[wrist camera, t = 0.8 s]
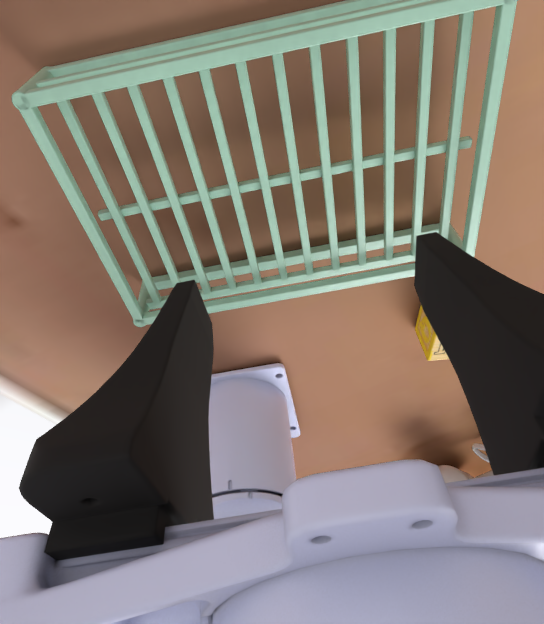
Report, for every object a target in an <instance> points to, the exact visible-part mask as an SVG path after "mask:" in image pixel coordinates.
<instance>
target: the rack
mask: <svg viewBox="0 0 544 624" xmlns="http://www.w3.org/2000/svg"><path fill="white" fill-rule="evenodd" d="M517 1H518V0H346V1H341V2H337V3H332V4H328V5H323V6H319V7H315V8H310V9H306V10H301V11H297V12H292V13H288V14H283V15H279V16H274V17H270V18H266V19H261V20H257V21H252V22H248V23H243V24H239V25H234V26H230V27H225V28H221V29H217V30H212V31H208V32H203V33H199V34H194V35H190V36H185V37H181V38H176V39H172V40H168V41H163V42H159V43H154V44H150V45H145V46H141V47H136V48H132V49H128V50H123V51H119V52H114V53H110V54H105V55H101V56H96V57H92V58H87V59H83V60H79V61H74V62H70V63H65V64H61V65H56V66H52V67H48V66H46V67H43V68H42V69H41V70H40V71H39V72H37V73H36V74H35V75H34V76H33V77H32V78H31V79H29V80H28V81H27V82H26V83H25V84H24V85H23V86H21V87H20V88H19V89H18V90H17V91H16V92H14V93H13V95H12V103H13V105H14V106H15V107H16V108H17V109H18V110H19V111H20V113H21V114H22V116H23V118H24V120H25V122H26V124H27V125H28V127H29V129H30V131H31V133H32V135H33V136H34V138H35V140H36V142H37V144H38V146H39V147H40V149H41V151H42V153H43V155H44V157H45V158H46V160H47V162H48V164H49V166H50V168H51V169H52V171H53V173H54V175H55V177H56V179H57V180H58V182H59V184H60V186H61V188H62V190H63V191H64V193H65V195H66V197H67V199H68V201H69V202H70V204H71V206H72V208H73V210H74V212H75V213H76V215H77V217H78V219H79V221H80V223H81V224H82V226H83V228H84V230H85V232H86V233H87V235H88V237H89V239H90V241H91V243H92V244H93V246H94V248H95V250H96V252H97V254H98V255H99V257H100V259H101V261H102V263H103V265H104V266H105V268H106V270H107V272H108V274H109V276H110V277H111V279H112V281H113V283H114V285H115V287H116V288H117V290H118V292H119V294H120V296H121V298H122V299H123V301H124V303H125V305H126V307H127V309H128V310H129V312H130V314H131V316H132V318H133V323H134V325H135V326H137V327H144V326H145V325H148V324H152V323H153V322H154V320H155V318H156V317H157V315H158V314H159V312H160V310H157V311H151V312H149V310H151V309H157V308H162V307H163V305H164V304H165V302H166V300H167V298H168V297H169V295H168V296H162V297H161V296H160V294H159V292H158V290H161V289H167V288H172V287H174V286H175V285H176V283H180V282H185V281H190V280H195V282H196V283H199V282H200V285H201V287H202V289H200V290H199V292H200V294H201V297H202V299H203V300H206V299H211V298H217V297H222V296H228V295H233V294H238V293H244V292H249V291H255V290H260V289H266V288H271V287H276V286H282V285H287V284H293V283H298V282H304V281H309V280H314V279H320V278H325V277H331V276H336V275H342V274H347V273H352V272H358V271H363V270H369V269H374V268H380V267H385V266H390V265H396V264H401V263H407V262H412V261H415V257H416V236H418V235H423V234H428V233H433V232H437V233H438V234H440V235H441V236H443V237H444V238H446V239H447V240H449V241H450V242H452V243H453V244H455V245H456V246H458V247H459V248H461V249H462V250H464V251H465V252H467V253H468V254H470V255H471V256H473V257H474V254H475V248H476V243H477V237H478V231H479V225H480V219H481V213H482V207H483V201H484V195H485V189H486V183H487V177H488V171H489V165H490V159H491V153H492V147H493V141H494V135H495V129H496V123H497V117H498V111H499V105H500V99H501V93H502V87H503V81H504V75H505V69H506V63H507V58H508V52H509V46H510V40H511V34H512V28H513V22H514V16H515V10H516V4H517ZM495 6H496V12H495V19H494V26H493V33H492V40H491V47H490V54H489V61H488V68H487V75H486V82H485V89H484V96H483V103H482V110H481V117H480V124H479V131H478V138H477V145H476V152H475V159H474V166H473V174H472V181H471V188H470V195H469V202H468V209H467V216H466V223H465V230H464V237H463V241H462V239H461V238H460V237H459V235H458V234H457V232H456V231H455V229H454V228H453V227H452V225H451V224H450V217H451V208H452V200H453V191H454V182H455V173H456V165H457V156H458V150H460V149H465V148H470V147H471V145H472V138H471V137H470V136H466V137H461V138H460V129H461V121H462V112H463V103H464V94H465V86H466V77H467V68H468V59H469V51H470V42H471V33H472V24H473V15H474V11H476V10H481V9H485V8H490V7H495ZM458 14H459V23H458V33H457V44H456V54H455V65H454V75H453V86H452V96H451V107H450V117H449V128H448V138H447V140H446V141H441V142H436V143H431V144H427V134H428V119H429V103H430V87H431V72H432V56H433V40H434V25H435V19H440V18H444V17H449V16H453V15H458ZM417 23H421V33H420V54H419V76H418V98H417V120H416V141H415V147H411V148H406V149H401V150H396V151H394V149H395V74H396V28H399V27H403V26H408V25H412V24H417ZM380 31H383V151H384V153H381V154H376V155H371V156H366V157H362V133H361V107H360V81H359V54H358V36H362V35H367V34H371V33H376V32H380ZM344 39H346V58H347V76H348V94H349V113H350V131H351V149H352V159H351V160H346V161H341V162H336V163H331V162H330V151H329V140H328V129H327V118H326V106H325V95H324V84H323V73H322V62H321V51H320V45H321V44H326V43H330V42H335V41H339V40H344ZM307 47H308V49H309V58H310V67H311V77H312V86H313V96H314V105H315V115H316V124H317V134H318V143H319V153H320V162H321V166H316V167H311V168H306V169H302V170H299V165H298V158H297V151H296V144H295V137H294V130H293V123H292V116H291V109H290V102H289V95H288V88H287V81H286V74H285V67H284V60H283V53H284V52H289V51H294V50H298V49H303V48H307ZM271 55H272V61H273V67H274V73H275V80H276V86H277V92H278V99H279V105H280V112H281V118H282V124H283V131H284V137H285V143H286V150H287V156H288V162H289V169H290V172H287V173H282V174H277V175H272V176H268V173H267V168H266V163H265V158H264V153H263V147H262V142H261V137H260V132H259V127H258V122H257V117H256V111H255V106H254V101H253V96H252V91H251V86H250V81H249V75H248V70H247V65H246V61H248V60H252V59H257V58H262V57H266V56H271ZM234 63H235V66H236V70H237V75H238V80H239V85H240V89H241V94H242V99H243V104H244V108H245V113H246V118H247V123H248V128H249V132H250V137H251V142H252V147H253V151H254V156H255V161H256V166H257V170H258V175H259V178H257V179H252V180H247V181H242V182H237V177H236V173H235V169H234V165H233V161H232V157H231V153H230V149H229V145H228V141H227V137H226V133H225V129H224V125H223V121H222V117H221V113H220V109H219V105H218V101H217V97H216V93H215V89H214V84H213V80H212V76H211V72H210V69H211V68H216V67H220V66H225V65H230V64H234ZM198 71H199V75H200V79H201V83H202V86H203V90H204V94H205V98H206V102H207V105H208V109H209V113H210V117H211V121H212V124H213V128H214V132H215V136H216V139H217V143H218V147H219V151H220V155H221V158H222V162H223V166H224V170H225V174H226V177H227V181H228V184H227V185H222V186H217V187H212V188H207V185H206V181H205V178H204V175H203V171H202V168H201V165H200V162H199V158H198V155H197V152H196V148H195V145H194V142H193V138H192V135H191V132H190V128H189V125H188V122H187V118H186V115H185V112H184V108H183V105H182V102H181V98H180V95H179V92H178V88H177V85H176V82H175V78H174V77H175V76H179V75H184V74H188V73H193V72H198ZM161 79H163V83H164V86H165V89H166V92H167V95H168V98H169V101H170V105H171V108H172V111H173V114H174V117H175V120H176V123H177V127H178V130H179V133H180V136H181V139H182V142H183V145H184V149H185V152H186V155H187V158H188V161H189V164H190V167H191V171H192V174H193V177H194V180H195V183H196V186H197V189H198V190H197V191H192V192H187V193H182V194H177V191H176V188H175V185H174V182H173V180H172V177H171V174H170V171H169V168H168V166H167V163H166V160H165V157H164V154H163V151H162V149H161V146H160V143H159V140H158V137H157V135H156V132H155V129H154V126H153V123H152V120H151V118H150V115H149V112H148V109H147V106H146V103H145V101H144V98H143V95H142V92H141V89H140V87H139V84H143V83H147V82H152V81H156V80H161ZM124 87H127V89H128V92H129V95H130V97H131V100H132V103H133V105H134V108H135V111H136V113H137V116H138V119H139V121H140V124H141V127H142V129H143V132H144V135H145V137H146V140H147V143H148V145H149V148H150V151H151V153H152V156H153V159H154V162H155V164H156V167H157V170H158V172H159V175H160V178H161V180H162V183H163V186H164V188H165V191H166V194H167V197H162V198H157V199H152V200H148V199H147V196H146V194H145V191H144V189H143V187H142V184H141V182H140V179H139V177H138V174H137V172H136V169H135V167H134V165H133V162H132V160H131V157H130V155H129V152H128V150H127V147H126V145H125V143H124V140H123V138H122V135H121V133H120V130H119V128H118V125H117V123H116V121H115V118H114V116H113V113H112V111H111V108H110V106H109V103H108V101H107V99H106V96H105V94H104V92H106V91H111V90H115V89H120V88H124ZM88 95H92V97H93V100H94V102H95V104H96V107H97V109H98V111H99V114H100V116H101V118H102V121H103V123H104V125H105V128H106V130H107V132H108V135H109V137H110V139H111V142H112V144H113V146H114V149H115V151H116V153H117V156H118V158H119V160H120V163H121V165H122V167H123V170H124V172H125V174H126V177H127V179H128V181H129V184H130V186H131V188H132V191H133V193H134V195H135V198H136V200H137V203H132V204H127V205H122V206H118V203H117V201H116V199H115V197H114V195H113V193H112V190H111V188H110V186H109V184H108V182H107V180H106V178H105V175H104V173H103V171H102V169H101V167H100V165H99V162H98V160H97V158H96V156H95V154H94V152H93V150H92V147H91V145H90V143H89V141H88V139H87V137H86V134H85V132H84V130H83V128H82V126H81V124H80V122H79V119H78V117H77V115H76V113H75V111H74V109H73V106H72V104H71V102H70V99H74V98H79V97H83V96H88ZM51 103H57V105H58V107H59V109H60V111H61V113H62V115H63V117H64V119H65V121H66V123H67V125H68V127H69V129H70V131H71V133H72V136H73V138H74V140H75V142H76V144H77V146H78V148H79V150H80V152H81V154H82V156H83V158H84V160H85V162H86V164H87V166H88V169H89V171H90V173H91V175H92V177H93V179H94V181H95V183H96V185H97V187H98V189H99V191H100V193H101V195H102V197H103V199H104V202H105V204H106V206H107V209H102V210H99V212H98V216H99V218H100V220H101V221H103V220H108V219H113V220H114V222H115V224H116V226H117V228H118V230H119V232H120V235H121V237H122V239H123V241H124V243H125V245H126V247H127V249H128V251H129V253H130V255H131V257H132V259H133V261H134V263H135V265H136V268H137V270H138V272H139V274H140V276H141V278H142V280H143V281H142V285H141V289H140V293H139V298H138V301H137V299H136V297H135V295H134V293H133V291H132V289H131V287H130V285H129V284H128V282H127V280H126V278H125V276H124V274H123V272H122V270H121V268H120V266H119V264H118V262H117V260H116V258H115V256H114V254H113V253H112V251H111V249H110V247H109V245H108V243H107V241H106V239H105V237H104V235H103V233H102V231H101V229H100V227H99V225H98V224H97V222H96V220H95V218H94V216H93V214H92V212H91V210H90V208H89V206H88V204H87V202H86V200H85V198H84V196H83V194H82V193H81V191H80V189H79V187H78V185H77V183H76V181H75V179H74V177H73V175H72V173H71V171H70V169H69V167H68V165H67V164H66V162H65V160H64V158H63V156H62V154H61V152H60V150H59V148H58V146H57V144H56V142H55V140H54V138H53V136H52V134H51V133H50V131H49V129H48V127H47V125H46V123H45V121H44V119H43V117H42V115H41V113H40V111H39V109H38V106H42V105H47V104H51ZM445 152H446V159H445V170H444V180H443V191H442V201H441V212H440V222H439V223H437V224H431V225H426V226H422V212H423V197H424V181H425V165H426V156H430V155H435V154H440V153H445ZM410 159H415V163H414V185H413V207H412V228H410V229H405V230H400V231H394V232H393V224H394V162H400V161H405V160H410ZM379 165H384V234H378V235H373V236H368V237H365V213H364V186H363V169H364V168H369V167H374V166H379ZM349 171H353V186H354V204H355V223H356V239H352V240H347V241H341V242H338V240H337V229H336V218H335V207H334V196H333V185H332V175H334V174H339V173H344V172H349ZM319 177H322V181H323V190H324V200H325V209H326V219H327V228H328V238H329V244H326V245H320V246H315V247H310V243H309V236H308V229H307V222H306V215H305V208H304V201H303V194H302V187H301V181H304V180H309V179H314V178H319ZM289 183H292V188H293V194H294V200H295V207H296V213H297V220H298V226H299V232H300V239H301V245H302V249H299V250H294V251H289V252H283V250H282V245H281V240H280V235H279V230H278V224H277V219H276V214H275V209H274V204H273V199H272V194H271V189H270V187H274V186H279V185H284V184H289ZM259 189H262V194H263V199H264V204H265V208H266V213H267V218H268V223H269V227H270V232H271V237H272V242H273V246H274V251H275V254H273V255H267V256H262V257H257V258H256V254H255V250H254V246H253V242H252V238H251V234H250V230H249V226H248V222H247V218H246V214H245V210H244V206H243V202H242V198H241V194H240V193H244V192H249V191H254V190H259ZM229 195H231V196H232V200H233V204H234V208H235V211H236V215H237V219H238V223H239V227H240V230H241V234H242V238H243V242H244V246H245V249H246V253H247V257H248V259H246V260H241V261H236V262H230V261H229V258H228V255H227V251H226V248H225V245H224V241H223V238H222V235H221V231H220V228H219V225H218V221H217V218H216V215H215V211H214V208H213V205H212V201H211V199H214V198H219V197H224V196H229ZM199 201H201V202H202V205H203V208H204V211H205V215H206V218H207V221H208V224H209V227H210V230H211V233H212V237H213V240H214V243H215V246H216V249H217V252H218V255H219V259H220V262H221V264H220V265H214V266H209V267H203V264H202V261H201V259H200V256H199V253H198V250H197V247H196V245H195V242H194V239H193V236H192V233H191V230H190V228H189V225H188V222H187V219H186V216H185V214H184V211H183V208H182V205H184V204H189V203H194V202H199ZM169 207H172V210H173V212H174V215H175V218H176V220H177V223H178V226H179V229H180V231H181V234H182V237H183V239H184V242H185V245H186V247H187V250H188V253H189V255H190V258H191V261H192V263H193V266H194V269H193V270H188V271H183V272H177V270H176V267H175V265H174V262H173V260H172V257H171V255H170V253H169V250H168V248H167V245H166V243H165V240H164V238H163V235H162V233H161V231H160V228H159V226H158V223H157V221H156V218H155V216H154V213H153V210H158V209H164V208H169ZM138 213H142V214H143V216H144V219H145V221H146V223H147V226H148V228H149V230H150V233H151V235H152V237H153V240H154V242H155V244H156V247H157V249H158V251H159V254H160V256H161V258H162V261H163V263H164V265H165V268H166V270H167V272H168V274H167V275H162V276H156V277H151V275H150V272H149V270H148V268H147V266H146V264H145V262H144V259H143V257H142V255H141V253H140V251H139V249H138V247H137V244H136V242H135V240H134V238H133V236H132V234H131V231H130V229H129V227H128V225H127V223H126V221H125V218H124V216H128V215H133V214H138ZM408 243H411V250H410V251H404V252H399V253H394V254H393V246H397V245H402V244H408ZM381 248H384V255H383V256H377V257H372V258H367V259H366V251H370V250H375V249H381ZM354 253H357V259H358V260H356V261H351V262H345V263H339V256H343V255H349V254H354ZM327 258H331V265H329V266H324V267H318V268H313V264H312V261H317V260H322V259H327ZM301 263H304V264H305V270H302V271H297V272H291V273H287V271H286V266H290V265H295V264H301ZM274 268H278V270H279V275H275V276H270V277H264V278H261V274H260V271H263V270H268V269H274ZM247 273H252V276H253V280H248V281H243V282H237V283H236V281H235V278H234V276H236V275H242V274H247ZM412 276H415V263H412V264H407V265H402V266H396V267H391V268H385V269H380V270H374V271H369V272H364V273H358V274H353V275H347V276H342V277H336V278H331V279H325V280H320V281H315V282H309V283H304V284H298V285H293V286H287V287H282V288H276V289H271V290H266V291H260V292H255V293H249V294H244V295H238V296H233V297H228V298H222V299H217V300H211V301H206V302H204V305H205V307H206V310H207V312H208V314H209V313H214V312H220V311H225V310H231V309H236V308H242V307H247V306H253V305H258V304H264V303H269V302H275V301H280V300H286V299H291V298H297V297H302V296H308V295H313V294H319V293H324V292H330V291H335V290H341V289H346V288H352V287H357V286H363V285H368V284H374V283H379V282H385V281H390V280H396V279H401V278H407V277H412ZM220 278H226V281H227V285H221V286H216V287H210V284H209V281H210V280H215V279H220Z"/></svg>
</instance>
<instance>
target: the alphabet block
mask: <svg viewBox="0 0 544 624" xmlns="http://www.w3.org/2000/svg"><path fill="white" fill-rule="evenodd" d="M415 331H416V334H417V336H418V339H419V341H420V344H421V346H422V349H423V351H424V353H425V356H426V358H427V360H429V361H431V360H443V359H449V358H448V356H447V354H446V352H445V350H444V348H443V346H442V345H441V343H440V341H439V339H438V337H437V335H436V334H435V332H434V330H433V328H432V326H431V324H430V322H429V320H428V319H427V317H426V315H425V313H424V311H423V308H422V305H421V306H420V310H419V314H418V318H417V322H416V326H415Z"/></svg>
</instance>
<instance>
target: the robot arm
mask: <svg viewBox="0 0 544 624" xmlns="http://www.w3.org/2000/svg"><path fill="white" fill-rule="evenodd" d="M414 286H415V289H416V292H417V295H418V297H419V300H420V303H421V305H422V308H423V311H424V313H425V315H426V317H427V319H428V320H429V322H430V324H431V326H432V328H433V330H434V332H435V334H436V335H437V337H438V339H439V341H440V343H441V345H442V346H443V348H444V350H445V352H446V354H447V356H448V358H449V359H450V361H451V363H452V365H453V367H454V369H455V371H456V373H457V375H458V378H459V380H460V383H461V385H462V388H463V390H464V393H465V395H466V398H467V400H468V403H469V406H470V408H471V411H472V414H473V416H474V419H475V422H476V424H477V427H478V430H479V433H480V436H481V439H482V441H483V444H484V447H485V450H486V453H487V456H488V459H489V462H490V465H491V468H492V471H493V474H494V476H488V477H481V478H475V479H469V480H462V481H456V482H449V483H445V482H444V479H443V476H442V474H441V472H440V469H439V467H438V466H437V465H435V464H432V463H430V462H427V461H424V460H421V459H413V460H398V461H392V462H386V463H379V464H373V465H367V466H361V467H355V468H348V469H342V470H336V471H330V472H324V473H317V474H313V475H309V476H306V477H303V478H299V479H297V480H296V473H295V465H294V456H293V448H292V440H291V438H295V437H298V436H299V435H300V428H299V424H298V420H297V416H296V412H295V408H294V404H293V400H292V396H291V391H290V387H289V383H288V379H287V375H286V371H285V367H284V365H283V364H281V363H275V364H269V365H263V366H257V367H252V368H246V369H240V370H234V371H228V372H223V373H217V374H212V364H213V331H212V322H211V320H210V317H209V315H208V312H207V310H206V307H205V305H204V302H203V299H202V297H201V294H200V292H199V289H198V287H197V284H196V282H195V280H190V281H185V282H180V283H176V285H175V286H174V288H173V290H172V291H171V293H170V295H169V297H168V298H167V300H166V302H165V304H164V305H163V307H162V309H161V310H160V312H159V314H158V315H157V317H156V318H155V320H154V322H153V323H152V325H151V326H150V328H149V330H148V331H147V333H146V334H145V335H144V337H143V338H142V340H141V341H140V343H139V344H138V345H137V347H136V348H135V350H134V351H133V352H132V353H131V355H130V356H129V357H128V358H127V360H126V361H125V362H124V363H123V364H122V365H121V367H120V368H119V369H118V370H117V371H116V372H115V373H114V374H113V375H112V376H111V377H110V378H109V379H108V380H107V381H106V382H105V383H104V384H103V385H102V386H101V388H100V389H99V390H98V391H97V392H96V393H94V394H93V395H92V396H91V397H90V398H89V399H88V400H87V401H86V402H84V403H83V404H82V405H81V406H80V407H79V408H77V409H76V410H75V411H74V412H73V413H71V414H70V415H69V416H68V417H66V418H65V419H64V420H63V421H61V422H60V423H58V424H57V425H56V426H54V427H53V428H52V429H50V430H49V431H48V432H46V433H45V434H44V435H42V436H41V437H39V438H38V439H37V440H36V442H35V444H34V447H33V449H32V452H31V454H30V457H29V460H28V463H27V466H26V468H25V471H24V474H23V477H22V480H21V483H20V487H19V489H20V492H21V495H22V496H23V498H24V499H26V501H27V502H28V503H29V504H30V505H32V506H33V507H35V508H36V509H37V510H38V511H40V512H41V513H42V514H43V515H45V516H46V517H47V518H49V519H50V520H51V521H52V522H53V523H52V526H51V530H50V533H49V535H48V534H44V533H31V534H24V535H17V536H12V537H5V538H0V624H544V294H542V293H540V292H537V291H535V290H533V289H531V288H529V287H526V286H524V285H522V284H520V283H518V282H516V281H514V280H512V279H510V278H508V277H506V276H505V275H503V274H501V273H499V272H497V271H496V270H494V269H492V268H490V267H489V266H487V265H485V264H484V263H482V262H481V261H479V260H477V259H476V258H474V257H473V256H471V255H470V254H468V253H467V252H465V251H464V250H462V249H461V248H459V247H458V246H456V245H455V244H453V243H452V242H450V241H449V240H447V239H446V238H444V237H443V236H441V235H440V234H438V233H437V232H433V233H428V234H423V235H418V236H416V257H415V281H414Z"/></svg>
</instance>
